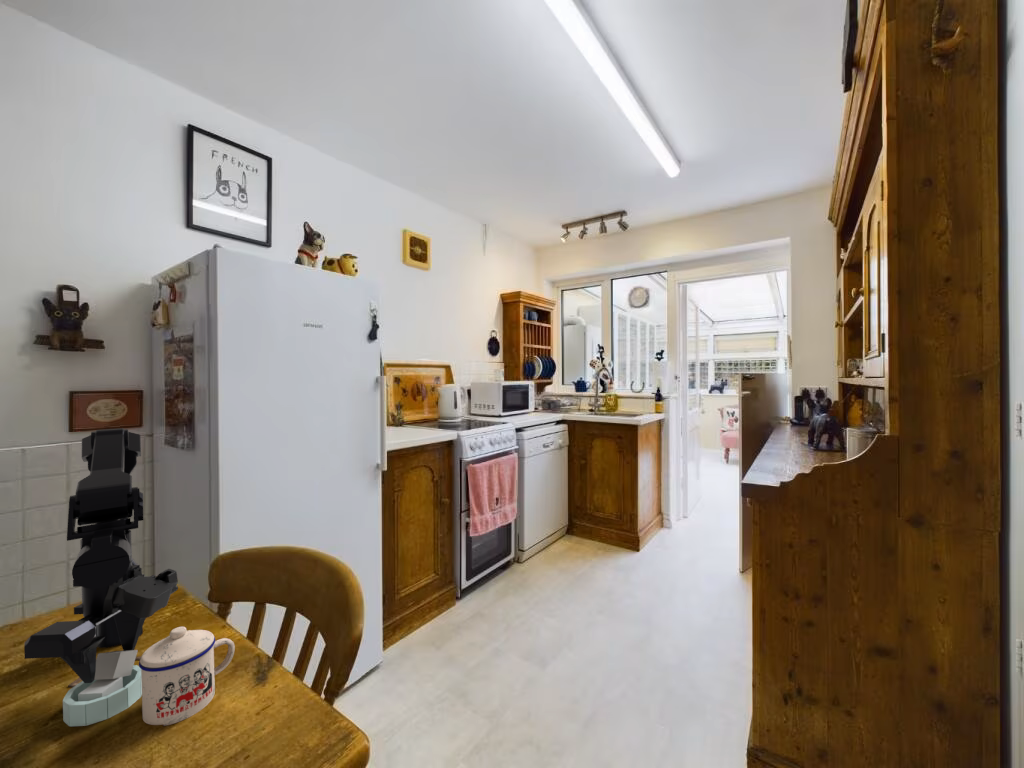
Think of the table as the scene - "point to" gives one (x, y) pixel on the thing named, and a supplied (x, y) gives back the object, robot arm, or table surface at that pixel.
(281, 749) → the table surface
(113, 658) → the grey cube
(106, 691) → the light grey cube
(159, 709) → the teacup with lid
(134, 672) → the bowl
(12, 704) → the table surface
